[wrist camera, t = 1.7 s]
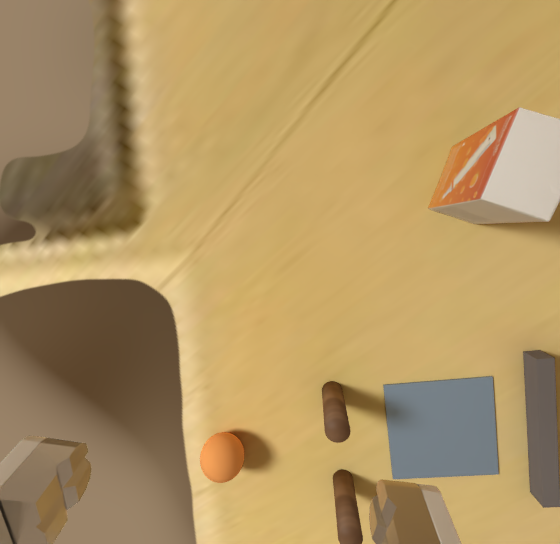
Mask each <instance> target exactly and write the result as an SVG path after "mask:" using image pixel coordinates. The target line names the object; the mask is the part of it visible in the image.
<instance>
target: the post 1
mask: <svg viewBox="0 0 560 544" xmlns="http://www.w3.org/2000/svg"><path fill="white" fill-rule="evenodd" d="M322 398H323V412H324V426H325V434H326V436H327V438H328V439H329V440H331V441H333V442H343V441H345V440H346V439H348V437H349V435H350V426H349V421H348V416H347V411H346V406H345V401H344V396H343V391H342V387H341V386H340V384H338V383H337V382H334V381H330V382H327V383H326V384H324V386H323V388H322Z"/></svg>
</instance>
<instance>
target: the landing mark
mask: <svg viewBox="0 0 560 544" xmlns="http://www.w3.org/2000/svg"><path fill="white" fill-rule="evenodd" d="M383 386H384V396H385V406H386V416H387V426H388V436H389V445H390V455H391V465H392V475H393V479H410V478H431V477H452V476H474V475H495V474H499V472H498V455H497V439H496V422H495V406H494V389H493V377H492V376H488V377H475V378H463V379H450V380H438V381H425V382H412V383H400V384H387V385H383Z"/></svg>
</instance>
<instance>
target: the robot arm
mask: <svg viewBox="0 0 560 544" xmlns="http://www.w3.org/2000/svg"><path fill="white" fill-rule="evenodd" d="M87 453H88V448H87V445H86V443H81V442H74V441H66V440H59V439H51V438H47V437H39V436H30V435H29V436H27V437H26V438H24V439H23V440H21V441H20V442H19V443H18V445H17V446H15V448H14V449H13V450H12V451H11V452H10V453H9V454H8V455H7V456H6V457H5V458H4V459H3V461H2V462H1V463H0V544H53V543H54V541H55V540H56V538H57V536H58V535H59V533H60V532H61V530H62V528H63V527H64V525H65V523H66V522H67V519H68V515H67V510H68V509H69V508H71V507H72V506H73V505H75V504H76V503H77V502H78V501H79V500H80V499H81V497H82V495H83V494H84V492H85V490H86V488H87V485H88V482H89V479H90V475H91V464H90V462H89V461H88V460H87V459H86V458H85V456H86V454H87ZM376 491H377V495H376V496H375V497H373V498H372V501H371V504H370V513H369V520H370V529H371V535H372V539H373V541H374V542H375V543H376V544H461V541H460V539H459V536H458V534H457V532H456V529H455V527H454V524H453V522H452V519H451V517H450V515H449V512H448V510H447V507H446V505H445V502H444V500H443V497H442V495H441V493H440V491H439V489H438V488H437V487H435V486H431V485H421V484H416V483H409V482H399V481H390V480H379V481H378V483H377V486H376Z"/></svg>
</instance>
